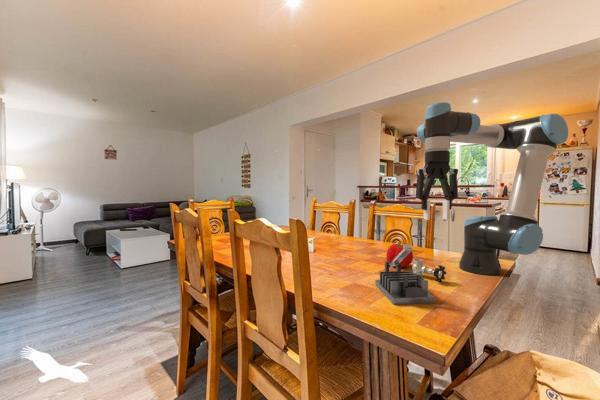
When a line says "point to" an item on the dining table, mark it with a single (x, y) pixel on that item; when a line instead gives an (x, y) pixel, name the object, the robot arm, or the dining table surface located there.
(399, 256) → the grey long bar
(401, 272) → the heatsink
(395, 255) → the tomato
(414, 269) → the valve
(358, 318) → the dining table surface
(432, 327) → the dining table surface
